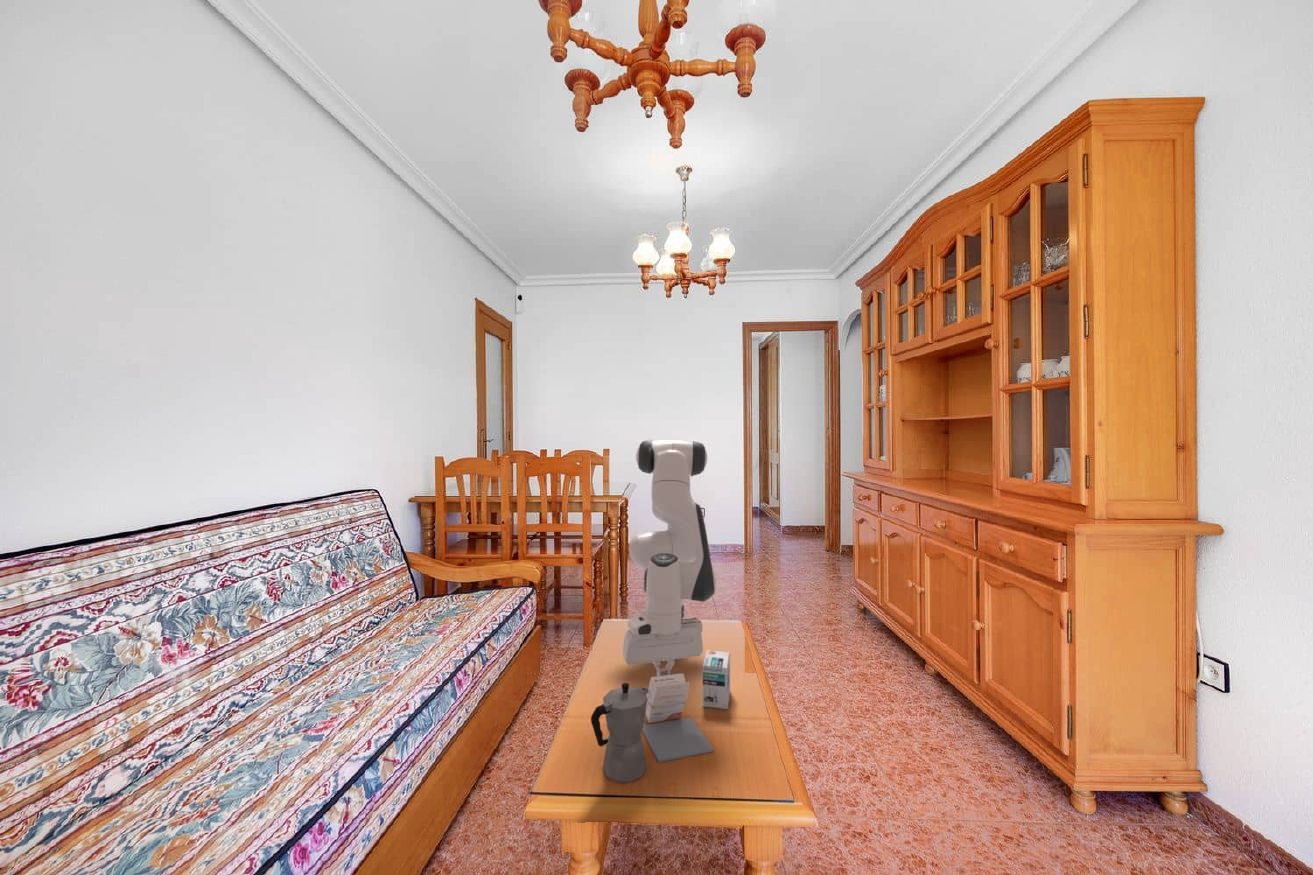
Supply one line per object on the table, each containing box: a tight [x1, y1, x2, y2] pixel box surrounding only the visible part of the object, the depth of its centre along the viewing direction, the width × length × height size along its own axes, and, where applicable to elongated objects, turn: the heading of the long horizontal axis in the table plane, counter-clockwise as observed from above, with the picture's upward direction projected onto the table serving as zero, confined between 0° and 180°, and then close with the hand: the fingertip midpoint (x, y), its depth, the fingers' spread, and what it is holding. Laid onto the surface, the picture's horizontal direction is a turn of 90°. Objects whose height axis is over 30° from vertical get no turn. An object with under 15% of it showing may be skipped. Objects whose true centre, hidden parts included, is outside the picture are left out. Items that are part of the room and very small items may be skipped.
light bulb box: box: [702, 650, 731, 710], centre depth 139 cm, size 11×7×11 cm, turn 168°
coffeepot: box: [590, 682, 649, 784], centre depth 108 cm, size 15×9×18 cm, turn 134°
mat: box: [641, 717, 715, 763], centre depth 119 cm, size 14×13×1 cm
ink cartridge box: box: [645, 673, 691, 724], centre depth 125 cm, size 9×5×15 cm
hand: (663, 676), depth 128 cm, fingers closed
